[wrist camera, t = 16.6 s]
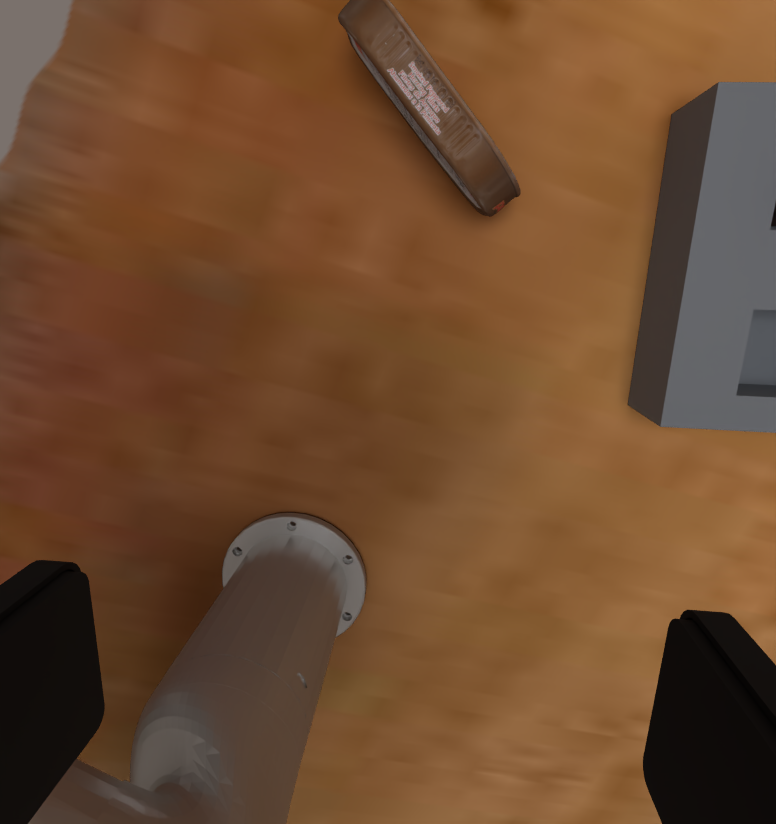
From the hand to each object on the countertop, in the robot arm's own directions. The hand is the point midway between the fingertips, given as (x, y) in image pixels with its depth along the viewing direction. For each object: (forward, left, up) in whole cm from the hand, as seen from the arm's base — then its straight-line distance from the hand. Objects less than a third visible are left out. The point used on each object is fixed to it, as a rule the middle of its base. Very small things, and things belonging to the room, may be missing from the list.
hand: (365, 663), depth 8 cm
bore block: (+7, -23, -33) cm, 41 cm away
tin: (+16, 0, -34) cm, 37 cm away
